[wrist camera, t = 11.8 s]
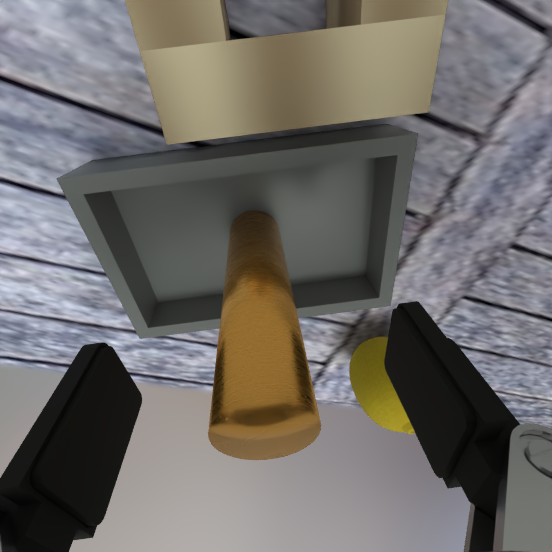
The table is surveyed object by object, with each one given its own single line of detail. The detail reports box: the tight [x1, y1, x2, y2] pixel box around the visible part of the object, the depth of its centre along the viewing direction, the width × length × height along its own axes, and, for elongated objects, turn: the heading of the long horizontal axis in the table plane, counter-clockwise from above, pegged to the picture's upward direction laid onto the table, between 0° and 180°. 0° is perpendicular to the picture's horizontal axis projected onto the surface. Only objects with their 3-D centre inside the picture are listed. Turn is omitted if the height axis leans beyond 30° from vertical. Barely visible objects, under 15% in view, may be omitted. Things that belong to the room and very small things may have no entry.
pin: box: [208, 210, 321, 460], centre depth 13 cm, size 3×3×12 cm
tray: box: [57, 124, 418, 339], centre depth 17 cm, size 16×10×4 cm, turn 95°
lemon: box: [350, 337, 415, 434], centre depth 22 cm, size 6×6×8 cm
